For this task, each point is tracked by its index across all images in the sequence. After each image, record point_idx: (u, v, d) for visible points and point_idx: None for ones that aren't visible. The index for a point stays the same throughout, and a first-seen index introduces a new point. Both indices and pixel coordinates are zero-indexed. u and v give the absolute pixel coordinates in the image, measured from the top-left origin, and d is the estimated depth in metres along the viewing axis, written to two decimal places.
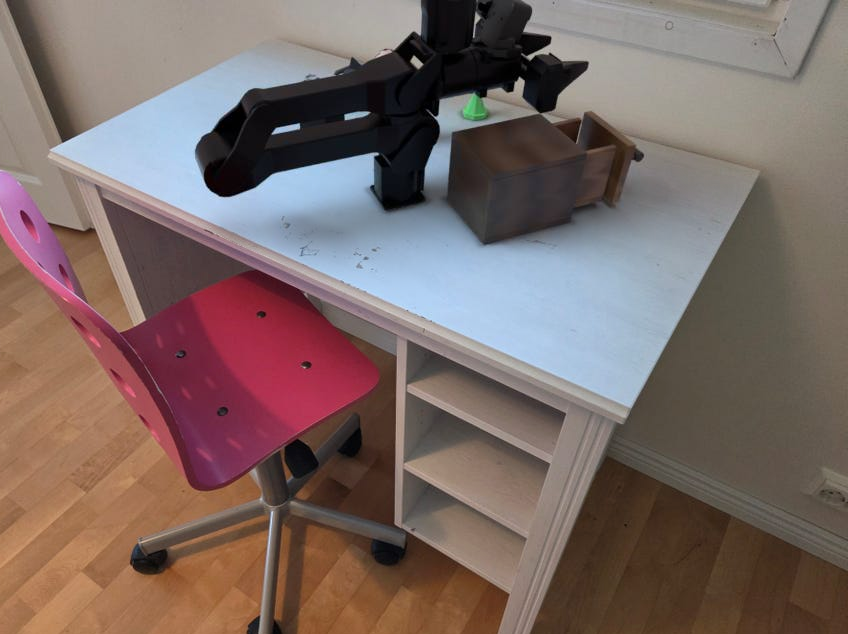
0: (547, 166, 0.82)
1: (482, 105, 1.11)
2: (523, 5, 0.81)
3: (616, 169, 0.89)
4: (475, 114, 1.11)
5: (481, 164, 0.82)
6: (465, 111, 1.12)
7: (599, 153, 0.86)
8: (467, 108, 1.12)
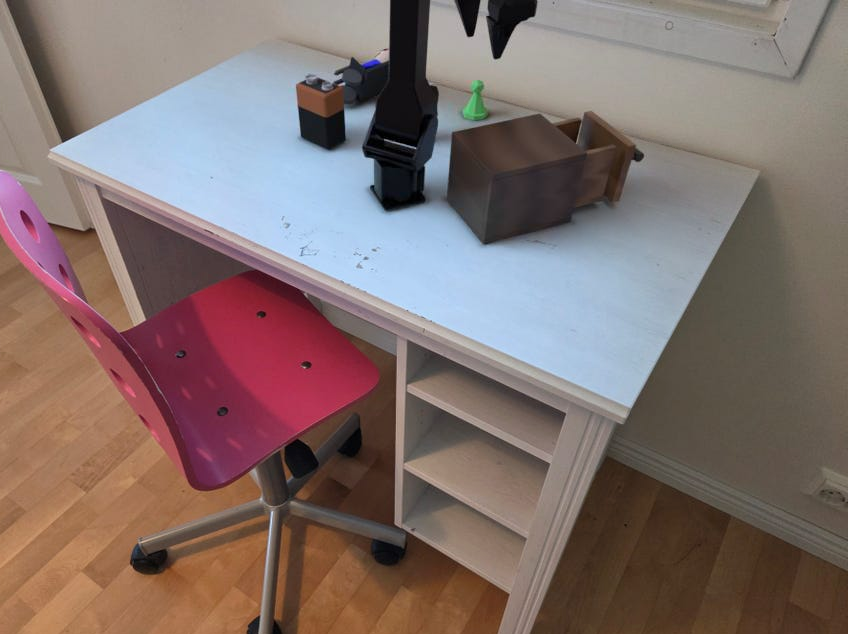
0: (547, 166, 0.82)
1: (482, 105, 1.11)
2: None
3: (616, 169, 0.89)
4: (475, 114, 1.11)
5: (481, 164, 0.82)
6: (465, 111, 1.12)
7: (599, 153, 0.86)
8: (467, 108, 1.12)
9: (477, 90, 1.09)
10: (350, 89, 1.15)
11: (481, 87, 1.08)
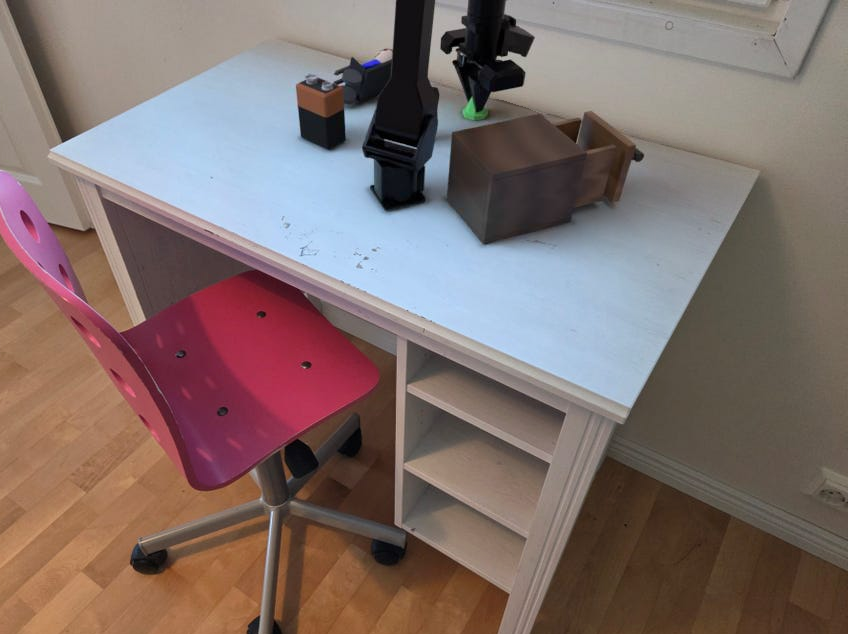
0: (547, 166, 0.82)
1: None
2: (530, 47, 1.06)
3: (616, 169, 0.89)
4: (475, 114, 1.11)
5: (481, 164, 0.82)
6: (465, 111, 1.12)
7: (599, 153, 0.86)
8: (467, 108, 1.12)
9: None
10: (350, 89, 1.15)
11: None
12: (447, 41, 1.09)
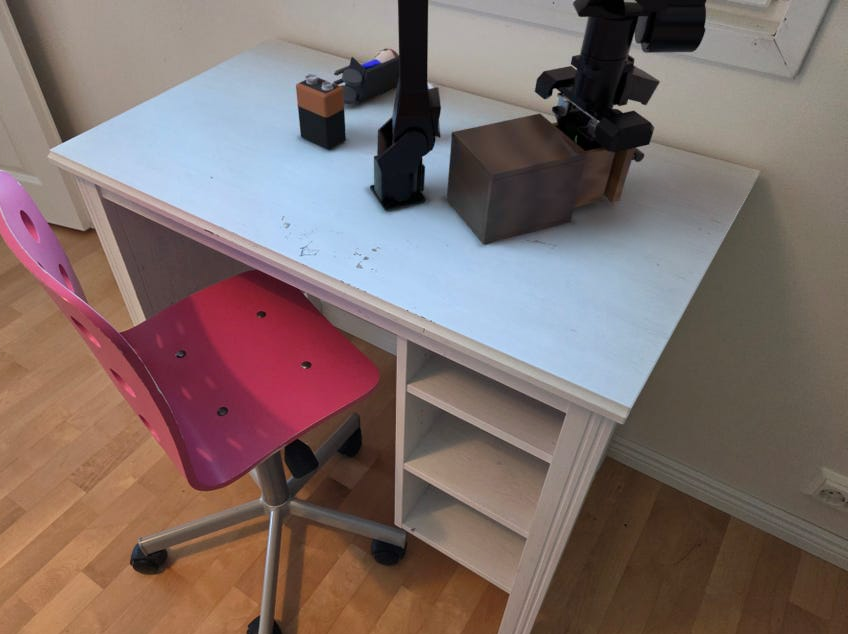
0: (547, 166, 0.82)
1: None
2: None
3: (616, 169, 0.89)
4: None
5: (481, 164, 0.82)
6: None
7: (599, 153, 0.86)
8: None
9: None
10: (350, 89, 1.15)
11: None
12: (546, 83, 0.89)
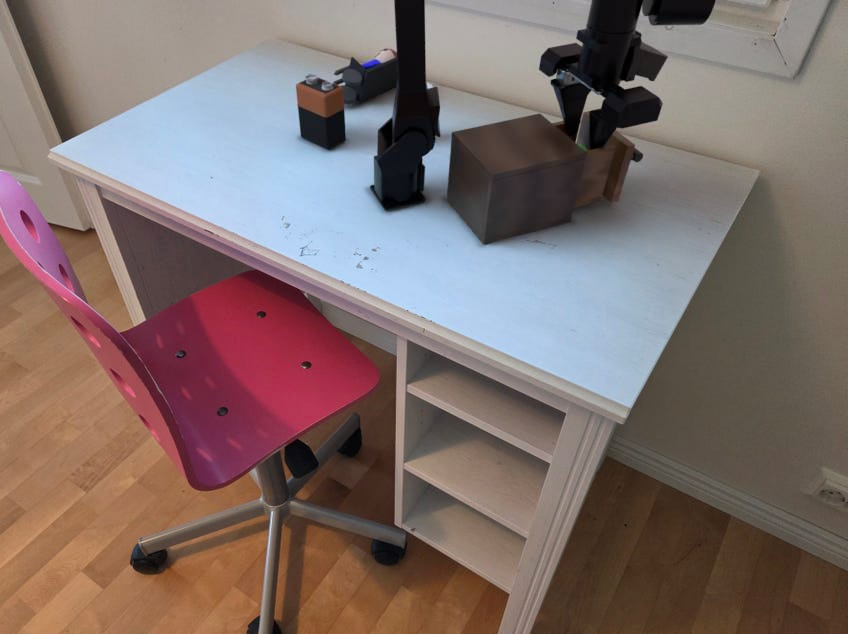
0: (547, 166, 0.82)
1: None
2: (659, 69, 0.83)
3: (615, 169, 0.89)
4: None
5: (481, 164, 0.82)
6: None
7: (598, 153, 0.86)
8: None
9: None
10: (350, 89, 1.15)
11: None
12: (551, 60, 0.86)
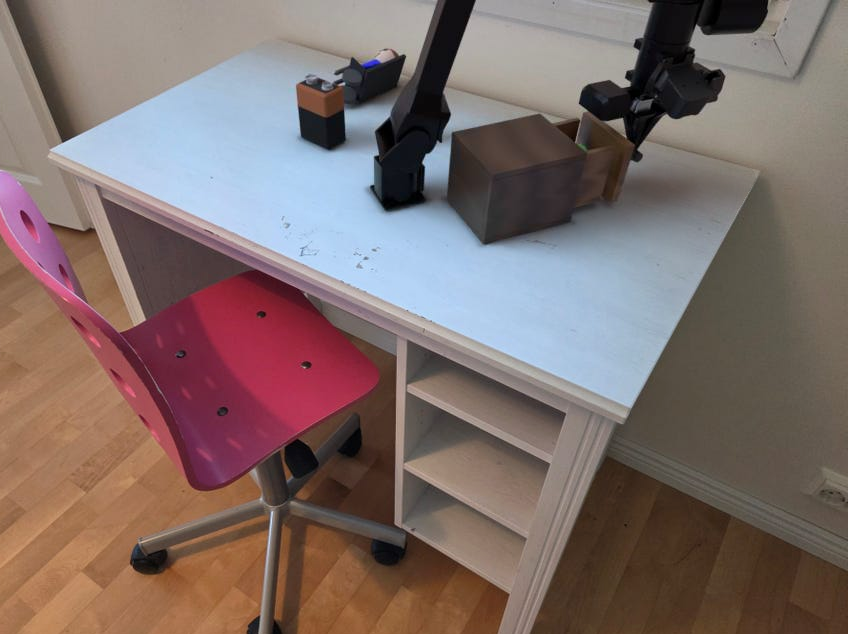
0: (547, 166, 0.82)
1: None
2: (680, 111, 0.81)
3: (615, 169, 0.89)
4: None
5: (481, 164, 0.82)
6: None
7: (598, 153, 0.86)
8: None
9: None
10: (350, 89, 1.15)
11: None
12: None
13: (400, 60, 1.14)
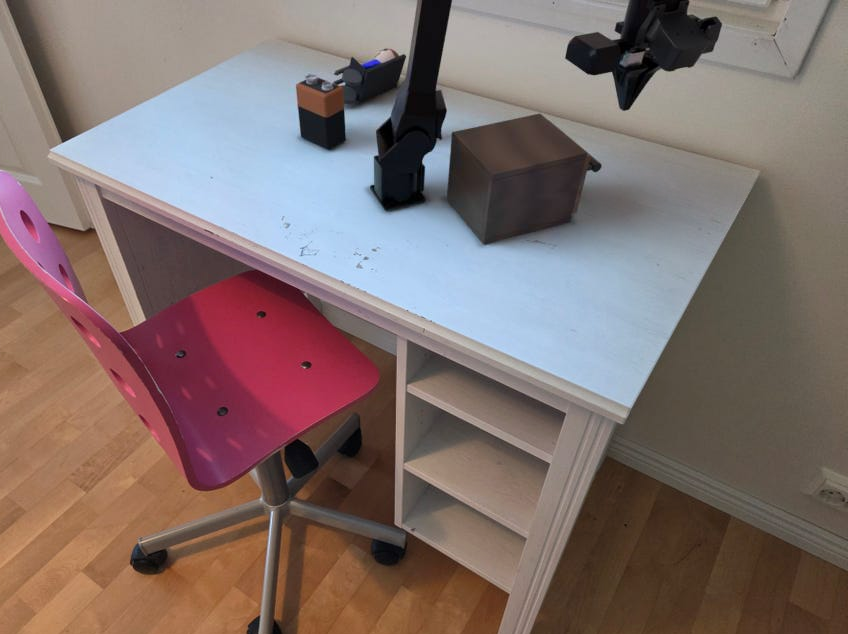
0: (547, 166, 0.82)
1: None
2: (673, 61, 0.75)
3: None
4: None
5: (481, 164, 0.82)
6: None
7: None
8: None
9: None
10: (350, 89, 1.15)
11: None
12: None
13: (400, 60, 1.14)
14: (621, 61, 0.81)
